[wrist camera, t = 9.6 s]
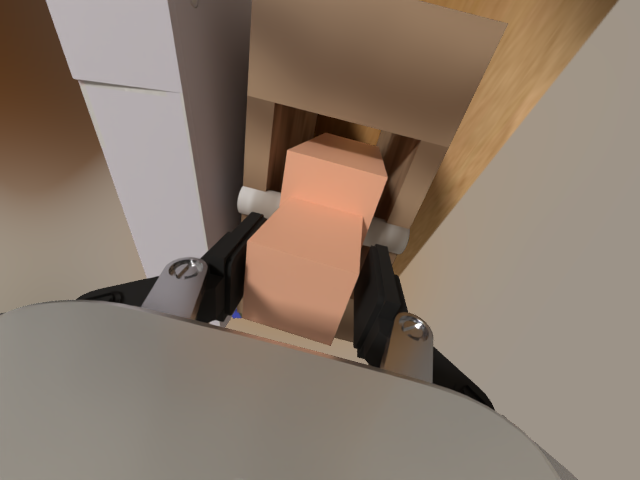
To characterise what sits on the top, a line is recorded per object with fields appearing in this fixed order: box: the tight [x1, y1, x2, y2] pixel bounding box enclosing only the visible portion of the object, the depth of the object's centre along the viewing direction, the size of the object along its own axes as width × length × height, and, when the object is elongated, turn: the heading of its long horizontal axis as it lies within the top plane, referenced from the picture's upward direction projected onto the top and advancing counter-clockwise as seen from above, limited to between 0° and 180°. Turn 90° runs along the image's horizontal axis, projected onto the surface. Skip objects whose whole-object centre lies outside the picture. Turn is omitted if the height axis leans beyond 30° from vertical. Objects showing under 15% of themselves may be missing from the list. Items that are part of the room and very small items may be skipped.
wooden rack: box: [237, 0, 508, 342], centre depth 23 cm, size 22×11×19 cm, turn 167°
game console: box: [46, 0, 252, 328], centre depth 22 cm, size 6×27×20 cm, turn 174°
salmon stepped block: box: [242, 133, 388, 346], centre depth 16 cm, size 8×5×16 cm, turn 167°
